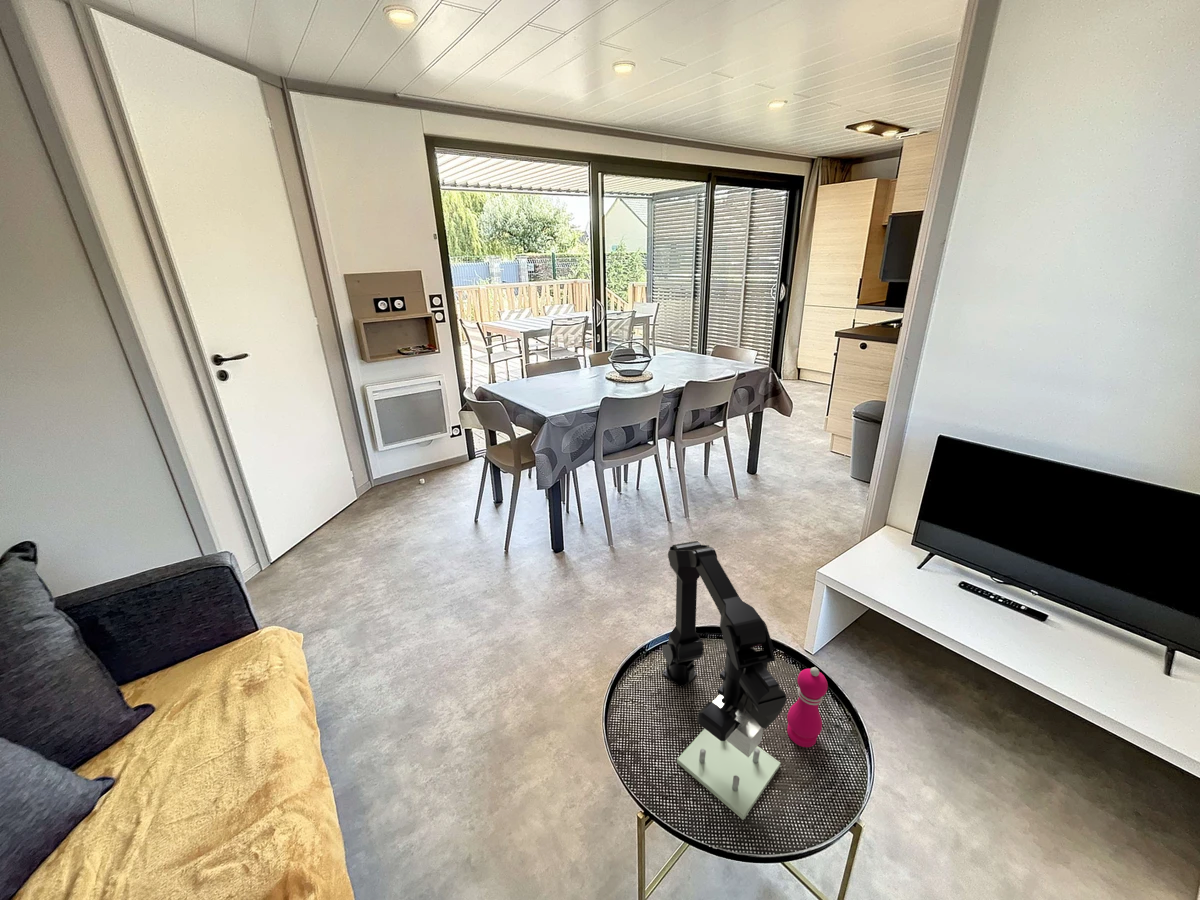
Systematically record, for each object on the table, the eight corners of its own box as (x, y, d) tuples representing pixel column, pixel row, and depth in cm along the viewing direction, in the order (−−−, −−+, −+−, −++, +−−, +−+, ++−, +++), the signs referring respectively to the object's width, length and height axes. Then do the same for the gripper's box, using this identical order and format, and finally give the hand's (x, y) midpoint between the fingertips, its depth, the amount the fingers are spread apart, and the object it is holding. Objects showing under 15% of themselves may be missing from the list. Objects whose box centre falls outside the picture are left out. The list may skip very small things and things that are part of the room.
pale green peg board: (676, 762, 103) (678, 749, 102) (715, 719, 113) (717, 706, 111) (743, 820, 93) (745, 806, 91) (779, 766, 102) (782, 753, 101)
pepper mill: (824, 748, 106) (840, 681, 99) (793, 751, 106) (807, 683, 98) (809, 719, 113) (823, 654, 105) (779, 721, 112) (791, 656, 105)
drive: (761, 741, 97) (764, 723, 95) (748, 757, 94) (751, 739, 92) (717, 708, 104) (719, 691, 102) (703, 723, 101) (705, 705, 99)
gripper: (752, 728, 82) (743, 789, 87) (801, 668, 94) (790, 725, 99) (698, 689, 89) (693, 748, 95) (750, 638, 101) (742, 692, 107)
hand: (732, 728), depth 99 cm, fingers closed on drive, 5 cm apart
